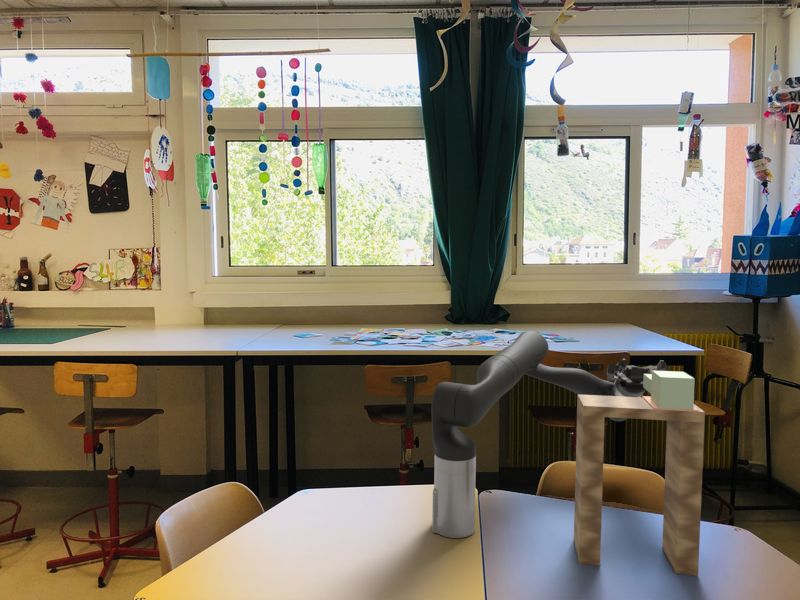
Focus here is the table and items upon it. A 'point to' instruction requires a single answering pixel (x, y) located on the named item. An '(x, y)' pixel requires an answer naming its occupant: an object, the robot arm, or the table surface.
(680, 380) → the pale green bar
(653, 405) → the card
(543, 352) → the robot arm
